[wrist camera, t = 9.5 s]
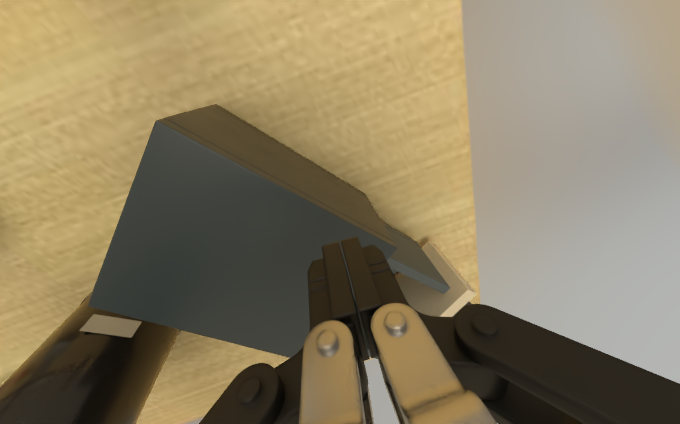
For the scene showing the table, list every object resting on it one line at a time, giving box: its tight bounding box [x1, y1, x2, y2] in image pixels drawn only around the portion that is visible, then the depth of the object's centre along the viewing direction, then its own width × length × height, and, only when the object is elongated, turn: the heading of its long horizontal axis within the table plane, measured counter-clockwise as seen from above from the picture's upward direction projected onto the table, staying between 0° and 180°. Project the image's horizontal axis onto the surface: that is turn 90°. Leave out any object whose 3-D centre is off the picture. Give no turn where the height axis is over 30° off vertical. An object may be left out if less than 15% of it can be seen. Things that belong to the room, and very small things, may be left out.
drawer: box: [354, 222, 477, 359], centre depth 24 cm, size 18×11×7 cm, turn 56°
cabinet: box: [88, 104, 397, 358], centre depth 20 cm, size 15×13×9 cm
